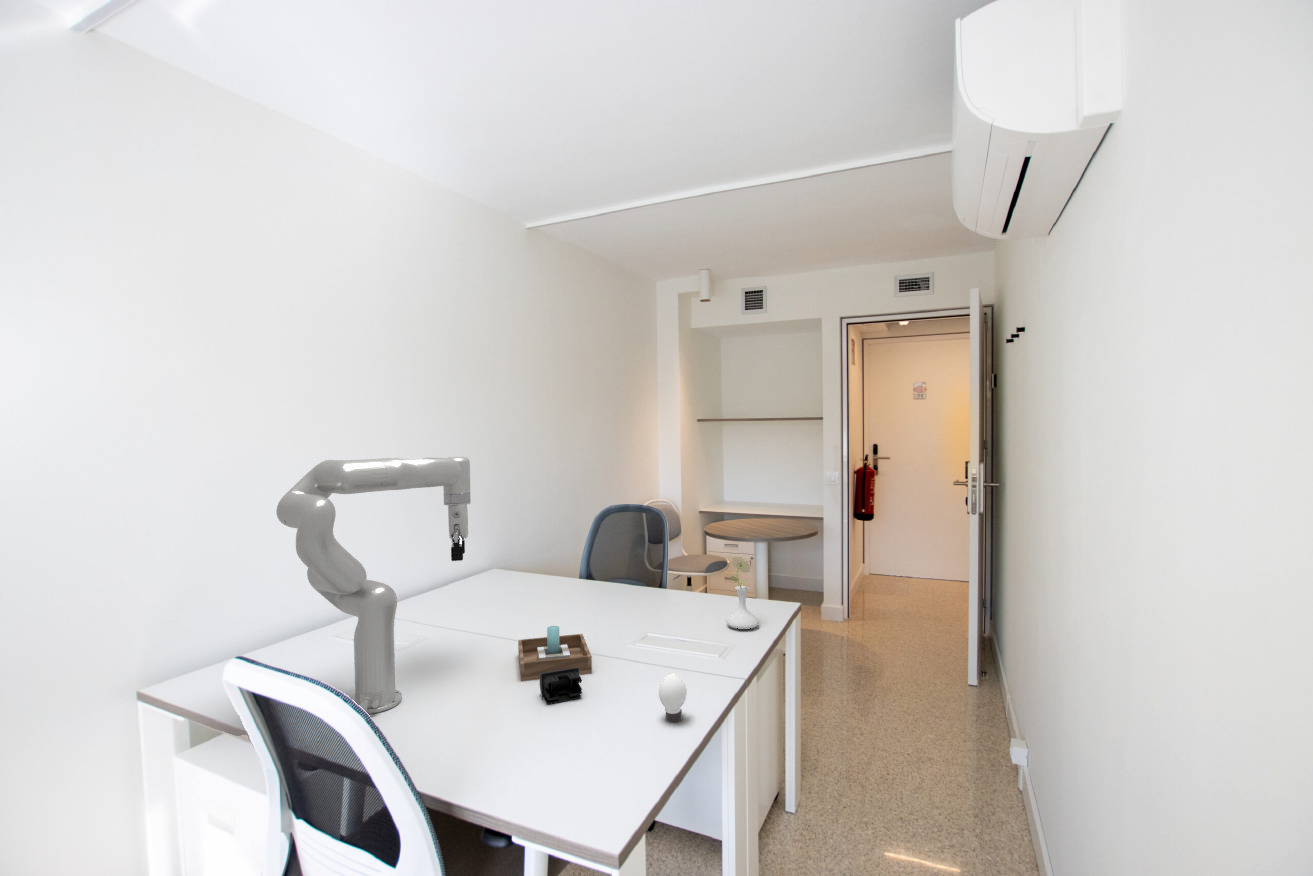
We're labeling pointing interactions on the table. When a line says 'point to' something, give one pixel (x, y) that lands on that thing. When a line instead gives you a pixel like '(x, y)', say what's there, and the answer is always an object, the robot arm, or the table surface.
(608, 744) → the table surface
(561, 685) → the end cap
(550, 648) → the peg
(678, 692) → the light bulb
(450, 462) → the robot arm
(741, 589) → the flower in vase
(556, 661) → the box
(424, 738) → the table surface
